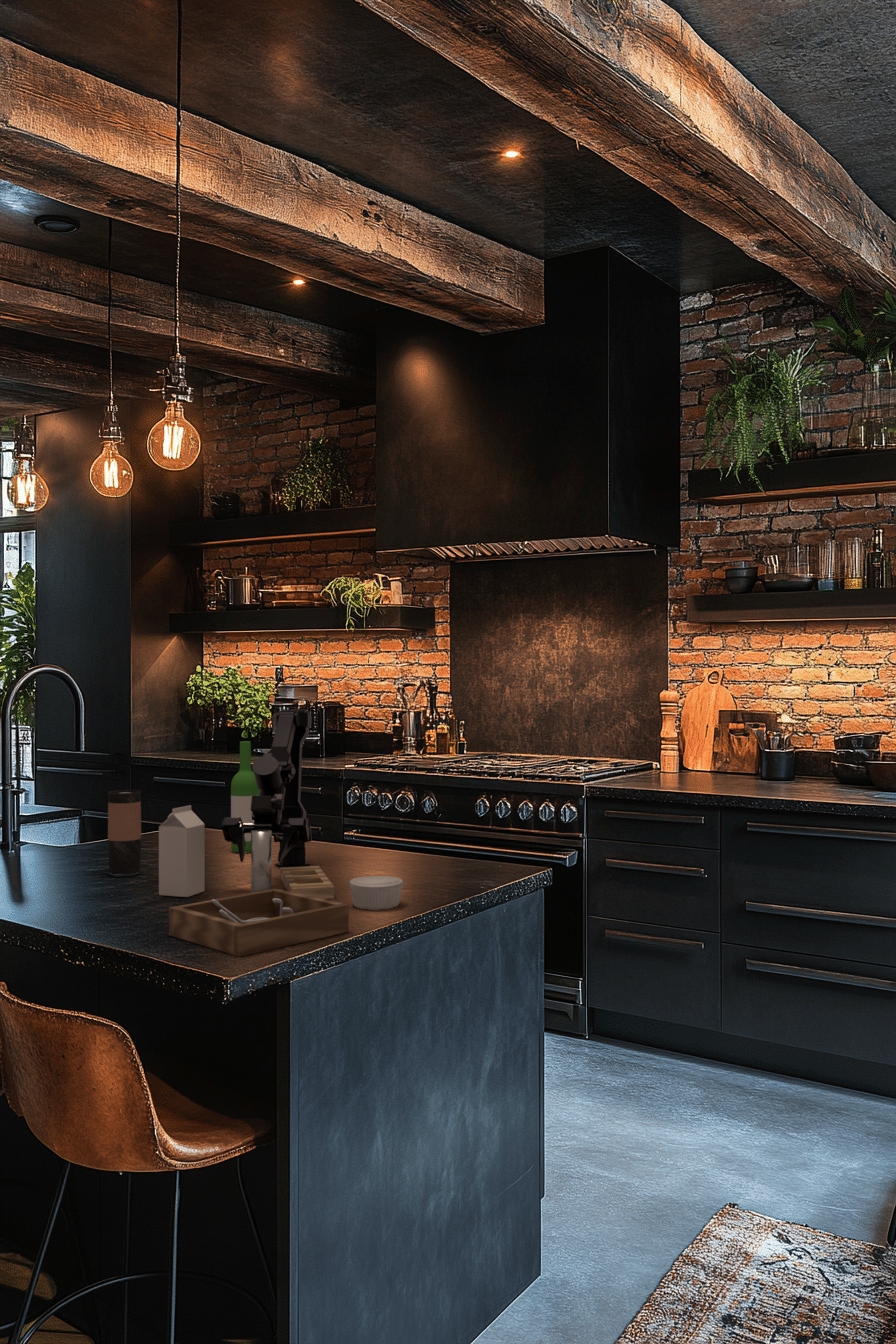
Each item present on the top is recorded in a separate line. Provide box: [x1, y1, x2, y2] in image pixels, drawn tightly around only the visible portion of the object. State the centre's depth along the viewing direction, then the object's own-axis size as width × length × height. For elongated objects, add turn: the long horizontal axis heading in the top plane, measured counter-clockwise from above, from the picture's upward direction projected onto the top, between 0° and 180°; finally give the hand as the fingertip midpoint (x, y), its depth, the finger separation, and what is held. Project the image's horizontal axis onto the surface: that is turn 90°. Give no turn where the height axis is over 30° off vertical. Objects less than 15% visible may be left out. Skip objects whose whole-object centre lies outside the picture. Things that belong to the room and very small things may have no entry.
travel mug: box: [107, 789, 142, 874], centre depth 254 cm, size 8×8×20 cm
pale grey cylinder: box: [250, 829, 273, 893], centre depth 229 cm, size 4×4×14 cm
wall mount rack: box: [210, 898, 293, 924], centre depth 197 cm, size 16×14×6 cm
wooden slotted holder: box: [280, 865, 335, 900], centre depth 237 cm, size 26×9×2 cm, turn 14°
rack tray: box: [168, 888, 350, 957], centre depth 195 cm, size 22×24×5 cm
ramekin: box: [349, 875, 404, 911], centre depth 218 cm, size 11×11×5 cm
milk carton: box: [158, 805, 206, 898], centre depth 231 cm, size 7×7×19 cm
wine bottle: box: [230, 740, 260, 853], centre depth 288 cm, size 8×8×30 cm
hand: (260, 861), depth 228 cm, fingers open, 8 cm apart
